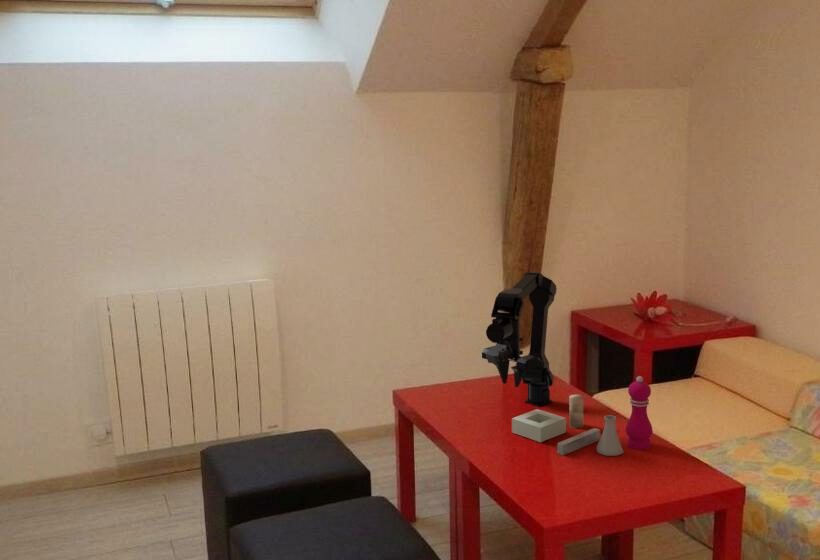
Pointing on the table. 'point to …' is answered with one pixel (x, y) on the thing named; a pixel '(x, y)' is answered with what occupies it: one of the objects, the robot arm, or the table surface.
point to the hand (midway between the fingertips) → (510, 385)
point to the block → (538, 425)
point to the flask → (609, 439)
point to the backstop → (578, 441)
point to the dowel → (576, 411)
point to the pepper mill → (639, 416)
